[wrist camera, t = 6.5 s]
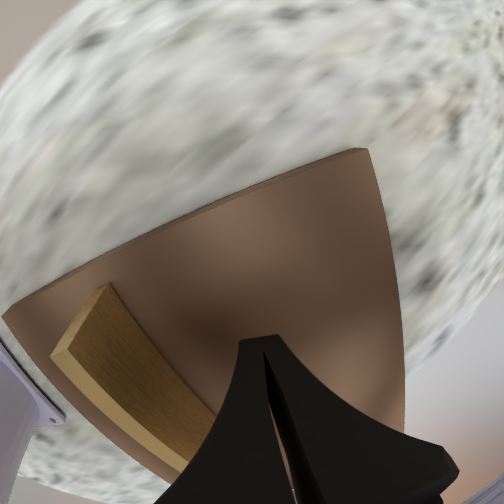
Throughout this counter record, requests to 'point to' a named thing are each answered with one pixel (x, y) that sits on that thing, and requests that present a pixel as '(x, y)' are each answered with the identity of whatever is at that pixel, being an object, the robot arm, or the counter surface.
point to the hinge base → (250, 294)
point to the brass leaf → (132, 380)
